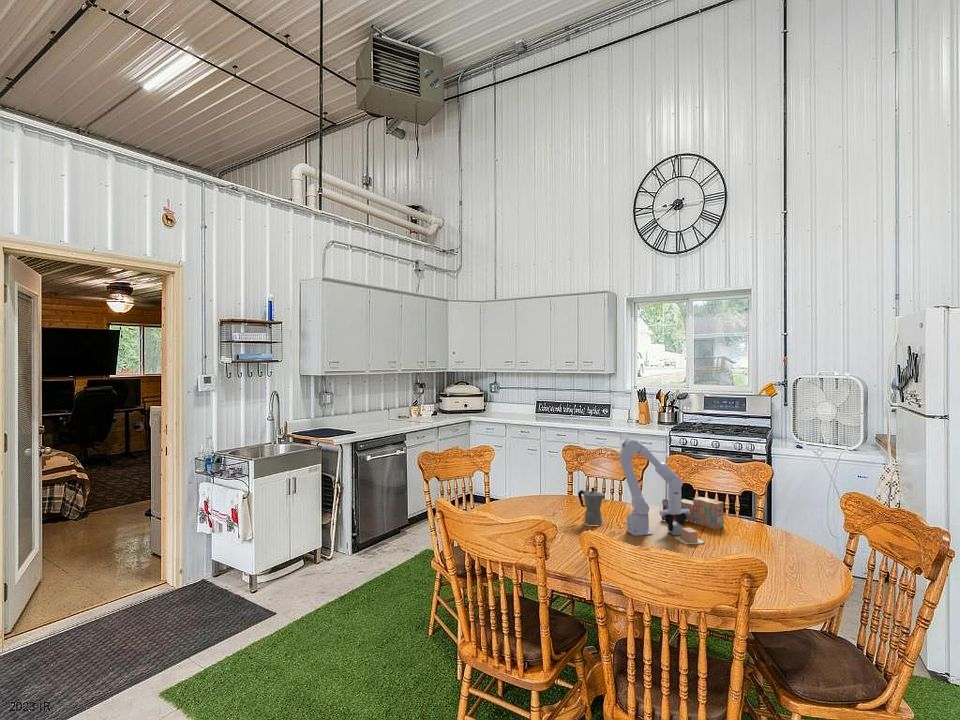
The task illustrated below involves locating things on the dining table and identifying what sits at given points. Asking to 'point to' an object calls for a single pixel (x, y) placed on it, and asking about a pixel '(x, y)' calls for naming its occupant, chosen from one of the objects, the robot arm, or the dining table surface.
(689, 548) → the dining table surface
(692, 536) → the terracotta brick
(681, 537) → the baseplate
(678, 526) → the slate brick
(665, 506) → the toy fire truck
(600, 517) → the coffeepot
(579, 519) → the dining table surface
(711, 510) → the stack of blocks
